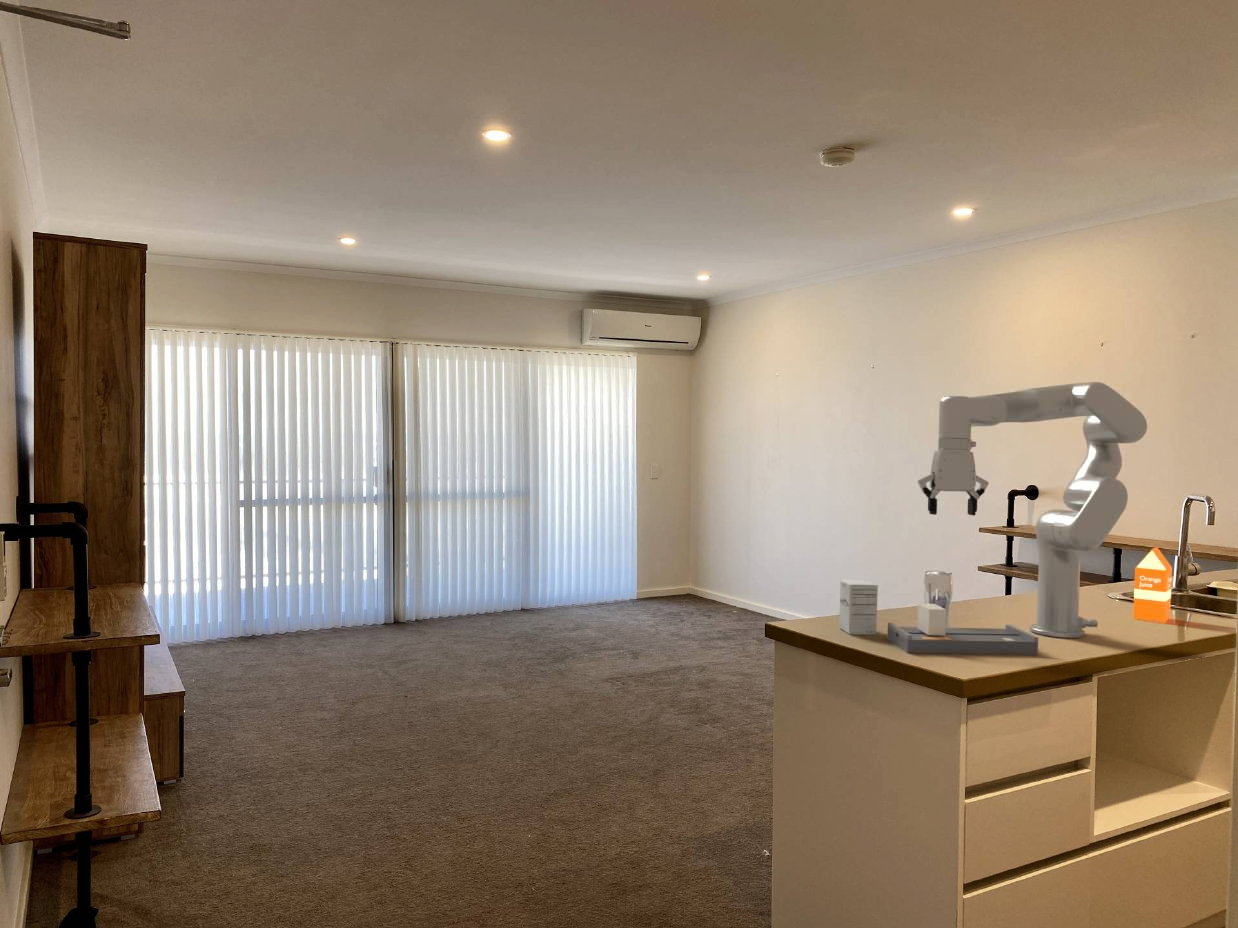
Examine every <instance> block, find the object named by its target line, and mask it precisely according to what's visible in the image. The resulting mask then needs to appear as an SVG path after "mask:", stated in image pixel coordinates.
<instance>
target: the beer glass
mask: <svg viewBox="0 0 1238 928" xmlns="http://www.w3.org/2000/svg"><path fill="white" fill-rule="evenodd" d="M953 583H954V582H953V572H949V571H943V570H942V571H940V570H926V571H924V579H923V599H924V604H936V605H938V606H940V607H942V608H944V609H946V628H950V625H949V615H950V614H949V613H950V609H951V605H952V599H953V589H954V587H953V586H954V585H953Z"/></svg>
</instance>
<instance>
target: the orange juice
mask: <svg viewBox="0 0 1238 928" xmlns="http://www.w3.org/2000/svg"><path fill="white" fill-rule="evenodd" d="M1172 573H1173V567H1172V566H1171V564H1170V563H1169V562H1168V560H1167V559H1166V557H1165V556H1164V555H1163V553H1162V552H1161V550H1160V549H1159V547H1158V546H1156V547H1154V548H1152V549H1151V550H1150V551H1149V553H1147V555H1146V556H1145V557H1144V558H1143V559H1142V560H1141V561H1140V562H1139V564H1138V565H1136V567H1135V568H1134V589H1133V590H1134V591H1133V618H1132V619H1133V620H1135V619H1142V620H1141V621H1143V620H1148V621H1147V622H1151V621H1158V622H1162V623H1161V624H1165V623H1167V622H1168V621H1169V620H1170V619H1171V602H1172V601H1171V599H1172V577H1173V576H1172ZM1169 618H1170V619H1169ZM1168 619H1169V620H1168ZM1167 620H1168V621H1167ZM1166 621H1167V622H1166ZM1158 622H1157V623H1158Z"/></svg>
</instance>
